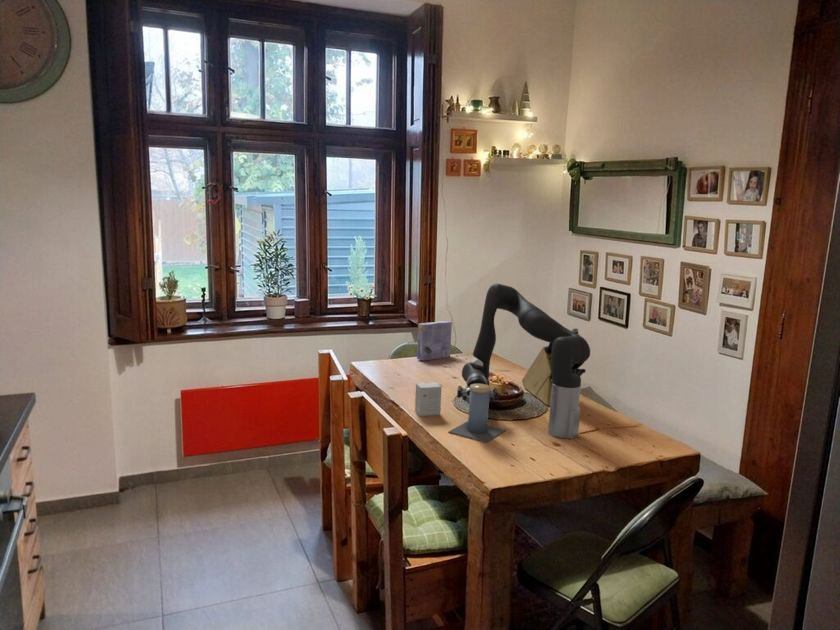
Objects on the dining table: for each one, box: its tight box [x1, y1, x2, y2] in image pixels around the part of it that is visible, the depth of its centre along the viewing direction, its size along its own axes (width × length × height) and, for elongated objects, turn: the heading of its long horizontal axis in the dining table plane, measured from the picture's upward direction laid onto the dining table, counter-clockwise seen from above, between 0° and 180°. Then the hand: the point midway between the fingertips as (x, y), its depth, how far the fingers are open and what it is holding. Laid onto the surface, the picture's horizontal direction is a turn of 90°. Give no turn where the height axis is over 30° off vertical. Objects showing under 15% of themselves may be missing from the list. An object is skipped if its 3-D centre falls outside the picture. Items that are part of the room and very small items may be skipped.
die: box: [470, 356, 483, 366], centre depth 282 cm, size 8×9×10 cm
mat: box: [448, 420, 507, 444], centre depth 209 cm, size 14×14×1 cm
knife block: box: [521, 327, 586, 407], centre depth 245 cm, size 11×35×31 cm, turn 13°
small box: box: [414, 381, 442, 417], centre depth 225 cm, size 8×6×10 cm
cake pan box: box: [416, 320, 453, 362], centre depth 303 cm, size 19×5×18 cm, turn 130°
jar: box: [467, 384, 491, 434], centre depth 208 cm, size 7×7×15 cm
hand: (478, 399), depth 212 cm, fingers open, 8 cm apart
